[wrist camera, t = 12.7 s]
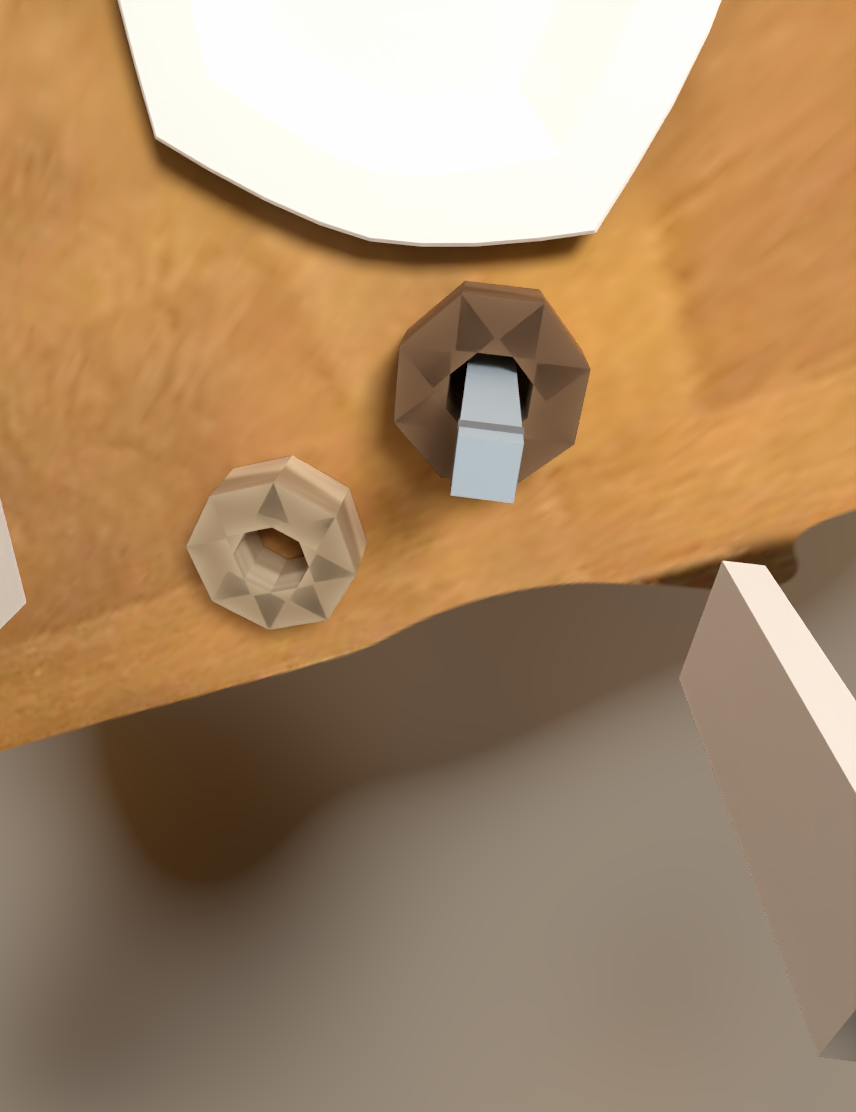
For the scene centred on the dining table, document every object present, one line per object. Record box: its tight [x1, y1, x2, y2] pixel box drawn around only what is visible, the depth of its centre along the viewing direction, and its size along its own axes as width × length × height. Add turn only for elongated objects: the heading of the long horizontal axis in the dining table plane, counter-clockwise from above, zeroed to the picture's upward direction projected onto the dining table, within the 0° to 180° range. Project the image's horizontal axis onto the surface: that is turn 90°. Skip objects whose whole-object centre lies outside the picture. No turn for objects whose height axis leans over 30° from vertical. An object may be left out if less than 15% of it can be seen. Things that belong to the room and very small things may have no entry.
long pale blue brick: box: [450, 353, 525, 503], centre depth 29 cm, size 2×2×12 cm
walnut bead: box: [394, 281, 590, 483], centre depth 32 cm, size 8×8×4 cm
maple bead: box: [186, 456, 367, 630], centre depth 38 cm, size 8×8×4 cm
